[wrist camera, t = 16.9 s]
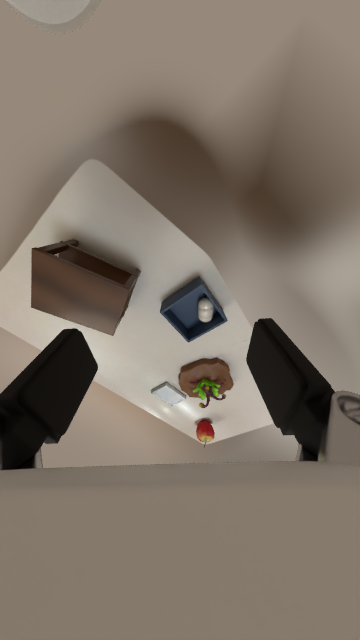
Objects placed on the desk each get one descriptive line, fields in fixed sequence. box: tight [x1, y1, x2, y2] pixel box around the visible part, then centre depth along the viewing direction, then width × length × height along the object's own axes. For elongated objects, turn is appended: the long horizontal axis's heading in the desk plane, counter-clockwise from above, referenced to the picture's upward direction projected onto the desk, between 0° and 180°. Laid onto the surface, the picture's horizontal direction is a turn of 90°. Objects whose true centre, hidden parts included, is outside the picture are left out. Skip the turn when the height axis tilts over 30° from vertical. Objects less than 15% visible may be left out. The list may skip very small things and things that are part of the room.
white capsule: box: [198, 297, 214, 322], centre depth 43 cm, size 7×4×4 cm
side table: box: [31, 239, 141, 336], centre depth 36 cm, size 12×16×12 cm
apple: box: [196, 421, 214, 446], centre depth 78 cm, size 8×8×10 cm
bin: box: [160, 276, 227, 343], centre depth 43 cm, size 12×12×6 cm
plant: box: [179, 358, 233, 408], centre depth 58 cm, size 20×20×11 cm
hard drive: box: [151, 382, 186, 406], centre depth 67 cm, size 2×8×12 cm
